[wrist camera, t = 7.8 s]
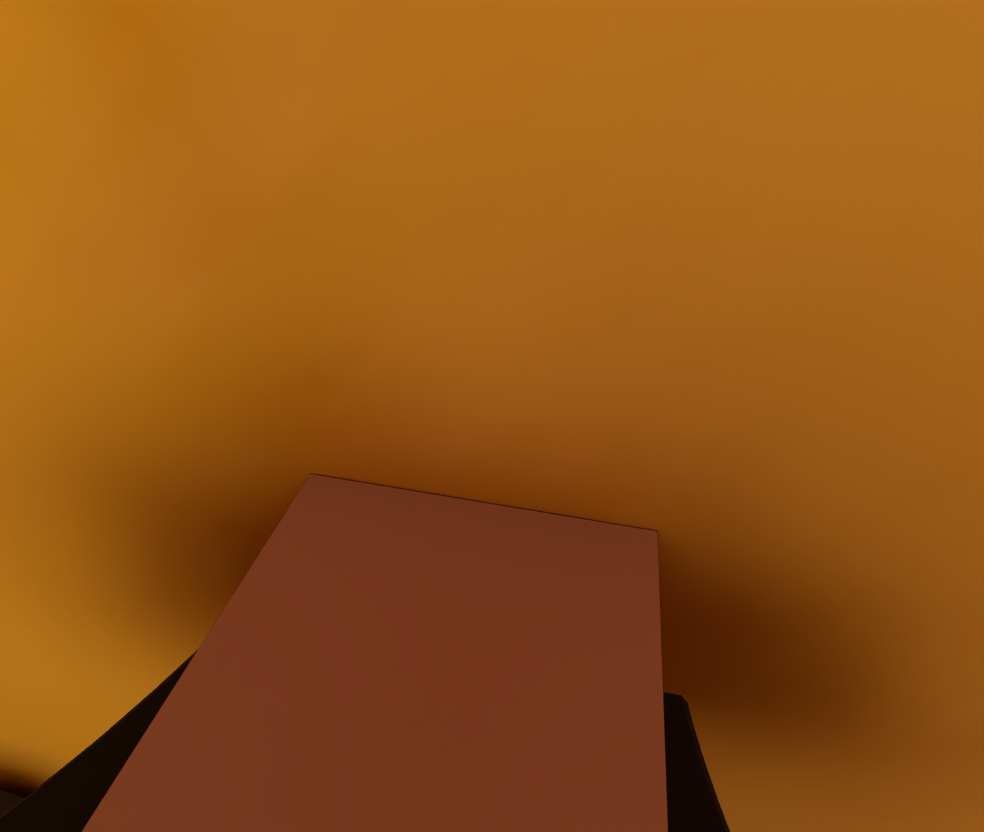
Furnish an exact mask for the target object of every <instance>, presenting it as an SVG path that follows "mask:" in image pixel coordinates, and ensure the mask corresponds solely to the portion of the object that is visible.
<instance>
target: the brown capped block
mask: <svg viewBox="0 0 984 832" xmlns="http://www.w3.org/2000/svg"><path fill="white" fill-rule="evenodd" d="M82 832H668V820H667V792H666V763H665V735H664V706H663V678H662V650H661V621H660V593H659V564H658V536H657V531H652V530H646V529H640V528H634V527H628V526H622V525H616V524H610V523H604V522H598V521H592V520H586V519H579V518H573V517H567V516H561V515H555V514H549V513H543V512H537V511H531V510H525V509H519V508H513V507H507V506H501V505H495V504H489V503H483V502H477V501H471V500H465V499H458V498H452V497H446V496H440V495H434V494H428V493H422V492H416V491H410V490H404V489H398V488H392V487H386V486H380V485H374V484H368V483H362V482H356V481H350V480H344V479H337V478H331V477H325V476H319V475H313V474H310V475H309V477H308V478H307V480H306V481H305V483H304V484H303V486H302V488H301V489H300V491H299V492H298V494H297V495H296V497H295V499H294V500H293V502H292V503H291V505H290V506H289V508H288V510H287V511H286V513H285V514H284V516H283V517H282V519H281V520H280V522H279V524H278V525H277V527H276V528H275V530H274V531H273V533H272V535H271V536H270V538H269V539H268V541H267V542H266V544H265V546H264V547H263V549H262V550H261V552H260V553H259V555H258V557H257V558H256V560H255V561H254V563H253V564H252V566H251V567H250V569H249V571H248V572H247V574H246V575H245V577H244V578H243V580H242V582H241V583H240V585H239V586H238V588H237V589H236V591H235V593H234V594H233V596H232V597H231V599H230V600H229V602H228V604H227V605H226V607H225V608H224V610H223V611H222V613H221V614H220V616H219V618H218V619H217V621H216V622H215V624H214V625H213V627H212V629H211V630H210V632H209V633H208V635H207V636H206V638H205V640H204V641H203V643H202V644H201V646H200V647H199V649H198V651H197V652H196V654H195V655H194V657H193V658H192V660H191V662H190V663H189V665H188V666H187V668H186V669H185V671H184V672H183V674H182V676H181V677H180V679H179V680H178V682H177V683H176V685H175V687H174V688H173V690H172V691H171V693H170V694H169V696H168V698H167V699H166V701H165V702H164V704H163V705H162V707H161V709H160V710H159V712H158V713H157V715H156V716H155V718H154V719H153V721H152V723H151V724H150V726H149V727H148V729H147V730H146V732H145V734H144V735H143V737H142V738H141V740H140V741H139V743H138V745H137V746H136V748H135V749H134V751H133V752H132V754H131V756H130V757H129V759H128V760H127V762H126V763H125V765H124V766H123V768H122V770H121V771H120V773H119V774H118V776H117V777H116V779H115V781H114V782H113V784H112V785H111V787H110V788H109V790H108V792H107V793H106V795H105V796H104V798H103V799H102V801H101V803H100V804H99V806H98V807H97V809H96V810H95V812H94V813H93V815H92V817H91V818H90V820H89V821H88V823H87V824H86V826H85V828H84V829H83V831H82Z"/></svg>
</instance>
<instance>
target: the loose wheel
mask: <svg viewBox="0 0 984 832" xmlns="http://www.w3.org/2000/svg"><path fill="white" fill-rule="evenodd" d="M23 799H24V798H22V797H20V796H18V795H15V794H13V793H9V792H6V791H2V790H0V816H1V815H3V814H4V813H5V812H7V811H8V810H9V809H11V808H12V807H13V806H15V805H16V804H17V803H19V802H20V801H21V800H23Z"/></svg>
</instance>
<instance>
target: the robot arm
mask: <svg viewBox="0 0 984 832" xmlns="http://www.w3.org/2000/svg"><path fill="white" fill-rule="evenodd" d="M197 651H198V650H197ZM197 651H196V652H197ZM196 652H195V653H194V654H193V655H191V656H190V657H189V658H188V659H187V660H186V661H185V662H184V663H183V664H182V665H181V666H180V667H179V668H177V669H176V670H175V671H174V672H173V673H172V674H171V675H170V676H169V677H168V678H167V679H165V680H164V681H163V682H162V683H161V684H160V685H159V686H158V687H157V688H156V689H155V690H153V691H152V692H151V693H150V694H149V695H148V696H147V697H145V698H144V699H143V700H142V701H141V702H140V703H139V704H137V705H136V706H135V707H134V708H133V709H132V710H131V711H129V712H128V713H127V714H126V715H125V716H124V717H123V718H122V719H120V720H119V721H118V722H117V723H116V724H115V725H114V726H112V727H111V728H110V729H109V730H108V731H107V732H105V733H104V734H103V735H102V736H101V737H100V738H98V739H97V740H96V741H95V742H94V743H92V744H91V745H90V746H89V747H88V748H86V749H85V750H84V751H83V752H81V753H80V754H79V755H78V756H76V757H75V758H74V759H73V760H71V761H70V762H69V763H68V764H67V765H65V766H64V767H63V768H62V769H60V770H59V771H58V772H57V773H55V774H54V775H53V776H52V777H50V778H49V779H48V780H47V781H46V782H44V783H43V784H42V785H41V786H39V787H38V788H37V789H36V790H34V791H33V792H32V793H30V794H29V795H28V796H27V797H25V798H24V799H23V800H21V801H20V802H19V803H17V804H16V805H15V806H13V807H12V808H11V809H9V810H8V811H7V812H5V813H4V814H3V815H1V816H0V832H82V831H83V829H84V828H85V826H86V824H87V823H88V821H89V820H90V818H91V817H92V815H93V813H94V812H95V810H96V809H97V807H98V806H99V804H100V803H101V801H102V799H103V798H104V796H105V795H106V793H107V792H108V790H109V788H110V787H111V785H112V784H113V782H114V781H115V779H116V777H117V776H118V774H119V773H120V771H121V770H122V768H123V766H124V765H125V763H126V762H127V760H128V759H129V757H130V756H131V754H132V752H133V751H134V749H135V748H136V746H137V745H138V743H139V741H140V740H141V738H142V737H143V735H144V734H145V732H146V730H147V729H148V727H149V726H150V724H151V723H152V721H153V719H154V718H155V716H156V715H157V713H158V712H159V710H160V709H161V707H162V705H163V704H164V702H165V701H166V699H167V698H168V696H169V694H170V693H171V691H172V690H173V688H174V687H175V685H176V683H177V682H178V680H179V679H180V677H181V676H182V674H183V672H184V671H185V669H186V668H187V666H188V665H189V663H190V662H191V660H192V658H193V657H194V655H195V654H196ZM663 706H664V735H665V763H666V792H667V820H668V832H730V830H729V828H728V825H727V823H726V820H725V817H724V815H723V812H722V809H721V807H720V804H719V801H718V799H717V796H716V793H715V790H714V787H713V784H712V782H711V779H710V776H709V773H708V770H707V767H706V764H705V761H704V758H703V755H702V752H701V749H700V746H699V742H698V739H697V736H696V732H695V729H694V725H693V722H692V718H691V715H690V711H689V707H688V703H687V702H686V700H685V699H684V698H683V697H682V696H681V695H676V694H670V693H665V692H663Z"/></svg>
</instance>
